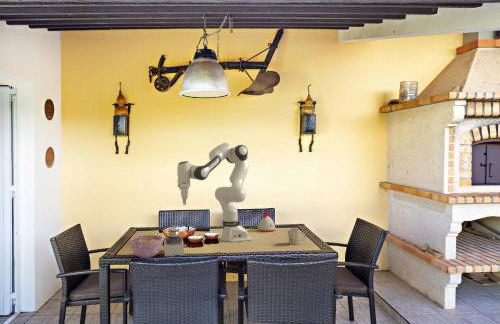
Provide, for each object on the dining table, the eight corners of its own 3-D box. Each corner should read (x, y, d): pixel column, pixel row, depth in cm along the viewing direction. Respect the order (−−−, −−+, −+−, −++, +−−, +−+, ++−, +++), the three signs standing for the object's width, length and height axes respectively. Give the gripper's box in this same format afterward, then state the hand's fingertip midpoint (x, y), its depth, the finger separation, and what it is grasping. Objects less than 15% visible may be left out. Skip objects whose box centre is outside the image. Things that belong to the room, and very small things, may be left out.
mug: (287, 242, 303) (287, 228, 303) (304, 241, 303) (304, 228, 303) (288, 244, 295) (288, 230, 294) (306, 244, 295) (306, 230, 295)
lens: (178, 239, 282) (178, 226, 281) (178, 241, 276) (178, 228, 275) (168, 240, 280) (168, 226, 280) (169, 242, 274) (168, 228, 274)
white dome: (255, 231, 343) (254, 212, 342) (263, 228, 355) (263, 210, 354) (270, 232, 336) (269, 214, 335) (278, 229, 347) (278, 211, 347)
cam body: (182, 248, 286) (182, 234, 286) (183, 255, 269) (183, 240, 268) (164, 249, 284) (164, 235, 283) (164, 256, 266) (164, 241, 266)
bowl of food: (153, 251, 280) (153, 233, 280) (168, 256, 265) (168, 238, 265) (124, 256, 267) (124, 238, 266) (139, 262, 252) (139, 243, 251)
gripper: (178, 183, 306) (179, 202, 306) (179, 186, 286) (180, 206, 286) (187, 182, 307) (187, 201, 308) (189, 185, 287) (189, 205, 288)
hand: (184, 203), depth 297 cm, fingers open, 8 cm apart
